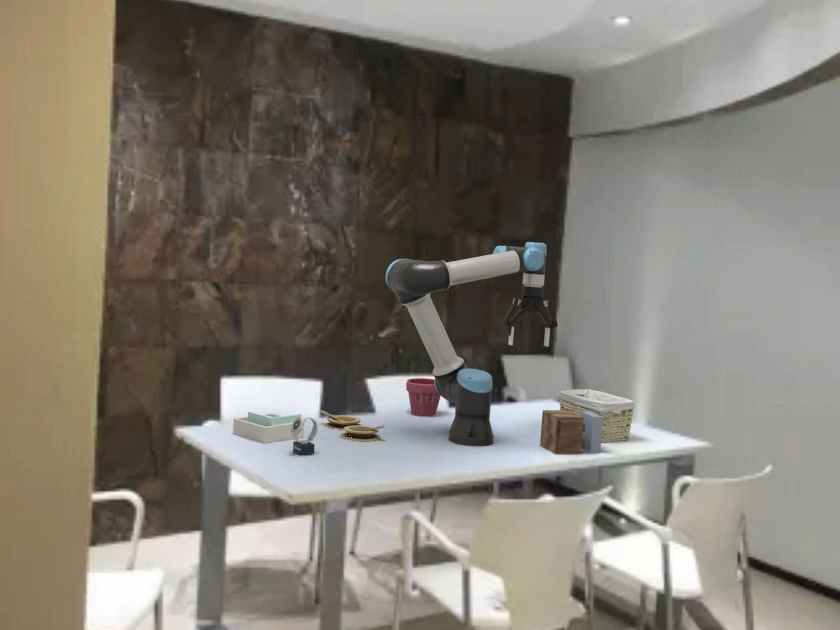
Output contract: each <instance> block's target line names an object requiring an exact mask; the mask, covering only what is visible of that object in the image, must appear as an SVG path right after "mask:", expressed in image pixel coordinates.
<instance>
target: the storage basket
mask: <svg viewBox="0 0 840 630" xmlns="http://www.w3.org/2000/svg"><path fill="white" fill-rule="evenodd" d="M558 399H559V407H560V408H559V410H568V411H570V412H572V413H575V414H577V415H579V416H580V411H590V412H592V413H595V414H597V415H600V416H602V417H603V424H602V436H601V444H602V443H603V444H604V443H611V442H612V443H614V442H624V441H628V440H629V438H630V433H631V429H632V426H631V425H632V422H633V414H634V413H633V412H634V409H636V405H635V401H634V400H631V399H628V398H625V397H622V396H618V395H614V394H610V393H606V392H604V391H599V390H594V389H591V388H588V389H567V390H560V391H559V394H558Z"/></svg>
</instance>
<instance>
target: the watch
mask: <svg viewBox="0 0 840 630" xmlns="http://www.w3.org/2000/svg"><path fill="white" fill-rule="evenodd" d="M307 420H310V421H312V424H313V426H312V429H311V431H310V433H309V435H308V437H307V439H305V440H299V438H297V437H296V436H298V433H300V431H301V430H302V429H303V427H304V428H305V422H306V421H307ZM318 431H319V425H318V423H317V421H316V420H315V418H312V417H309V416H308V415H307V416H306V415H305V416H304V415H302V416H301V417H300V418H297V419H296V420H295V421H294V422H293V424H292V426H291V434H292V437H293V439H292V440H294V441H293V443H292V452H293V453H294V454H297V455H298V454H299V455H298V456H300V455H301V457H303V456H302V455H305V456H313V455H312V454H314V455H315V443H313V442H312V441H314V439H315V438H316V436H317V433H318Z"/></svg>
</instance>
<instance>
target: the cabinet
mask: <svg viewBox="0 0 840 630" xmlns="http://www.w3.org/2000/svg"><path fill="white" fill-rule="evenodd" d="M541 414H542V417H541V427H540V441H539V446H540V447H542V448H544V449H545V450H547V451H549V452H551V453H553V454H554V455H581V454H582V448H581V447H584V439H582V433H583V432H585V424H583V421H584V417H581V416H579V415H577V414H575V413H572V412H570V411H568V410H560V409H542V413H541Z"/></svg>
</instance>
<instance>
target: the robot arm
mask: <svg viewBox="0 0 840 630" xmlns="http://www.w3.org/2000/svg"><path fill="white" fill-rule="evenodd" d="M546 262H547V244H546V243H544V242H533V241H532V242H530V241H527V242H526V243H525V245H524V246H523V247H522V246H511V245H497V246H496V247H495V248H494V250H493V252H492V254H486V255H481V256H476V257H475V256H474V257H471V258H465V259H459V260H455V261H448V262H446V261H445V260H437V261H427V260H426V261H425V260H415V259H410V258H405V257H404V258H401V259H399V258H398V259H396V260H394V261H392V263H390V264H389V266H388V267H387V270H386V272H385V282H386V283H385V284H386V285H387V286H388V288H389V289H390V290H391V291H392V292H393V293H394V294H395V296H396V297H397V300H398V302H399V304H400V305H401V306H403V307H406V309H407V310H408V313H409V315H410V317H411V319H412V321H413V323H414V325H415V328H416V330H417V333H418V334H419V337H420V338H421V339H420V340H422V343H423V345H424V347H425V349H426V352H427V355H428V356H429V358H430V361H431V362H432V365H433V370H432V376H433V378H434V379H435V380H434V384H435V388H436V390H437V392H438V393H439V394H440V395H441V396H440V397H442V398H443V399H445V400H446V401H449V402H452V403H454V404H455V407H454V409H455V410H454V411H455V412H454V418H453V421H452V424H451V426H450V428H449V431H448V437H447V439H448V441H449V442H452V443H455V444H458V445H464V446H475V447H477V446H478V447H480V446H488V445H492V444H493V443H494V439H495V437H494V432H493V428H492V424H491V419H490V418H491V416H490V415H491V404H492V392H493V391H492V390H493V377H492V375H491V374H490V373H489V372H487V371H485V370H481V369H480V370H479V369H477V368H468V367H467V364H466V362H465V361H464V358H462V357H459V356H458V355H457V354H456V352H455V351H456V350H455V349H454V346H453V345H452V342H451V340H450V338H449V336H448V334H447V331H446V329H445V327H444V325H443V323H442V320H441V319H440V316H439V314H438V311H437V309H436V307H435V305H434V303H433V300H432V298H431V294H433V293H436V292H441V291H446V290H449V288H450V287H451V286H454V285H459V284H464V283H470V282H474V281H475V282H476V281H479V280H485V279H490V278H495V277H499V276H504V275H509V274H515V273H521V272H522V273H523V275H522V285H523V286H522V288H521V299H517V298H512V303H511V305H510V307H509V308H508V311H507V312H506V314H505V316H504V318H503V319H502V321H501V323H502V324H504V325H505V326H506V335H507V336H508V343H507V344H508V345H509V346H513V345H514V333H515V327H514V326H513V325H515V323H516V322H517V321H518V320H519V319H520V318H521V316H522V315H523V314H524V313H537V314H538V315H539V317H540V318H541V320H542V321H543V323H544V324H545V326H546V327H545V328H544V338H543V339H544V341H543V346H544V347H549V345H550V338H552V336H553V330H554V328H556V327H558V326H559V324H558V322H557V321H558V320H557V319H556V316H555V313H554V310H553V308H552V301H551V300H550V299H549V300H548V299H546V300H543V298H544V287H543V286H544V285H545V277H546V276H545V274H546V265H547V264H546ZM519 305H521V307H520V308H519V309H518V311H516V309H517V307H518V306H519ZM543 305H544V307H545V309H546V312H547V315H548V317H549V318H548V317H547V315H546V314H545V312H544V310H543V309H542V307H543ZM515 311H516V313H515V314H514V312H515Z"/></svg>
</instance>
